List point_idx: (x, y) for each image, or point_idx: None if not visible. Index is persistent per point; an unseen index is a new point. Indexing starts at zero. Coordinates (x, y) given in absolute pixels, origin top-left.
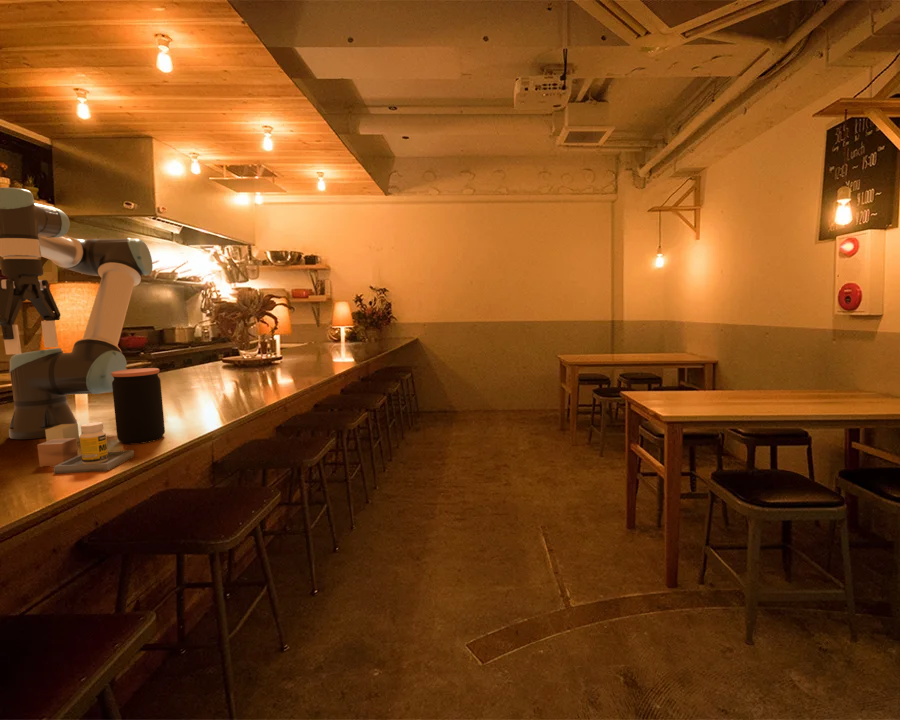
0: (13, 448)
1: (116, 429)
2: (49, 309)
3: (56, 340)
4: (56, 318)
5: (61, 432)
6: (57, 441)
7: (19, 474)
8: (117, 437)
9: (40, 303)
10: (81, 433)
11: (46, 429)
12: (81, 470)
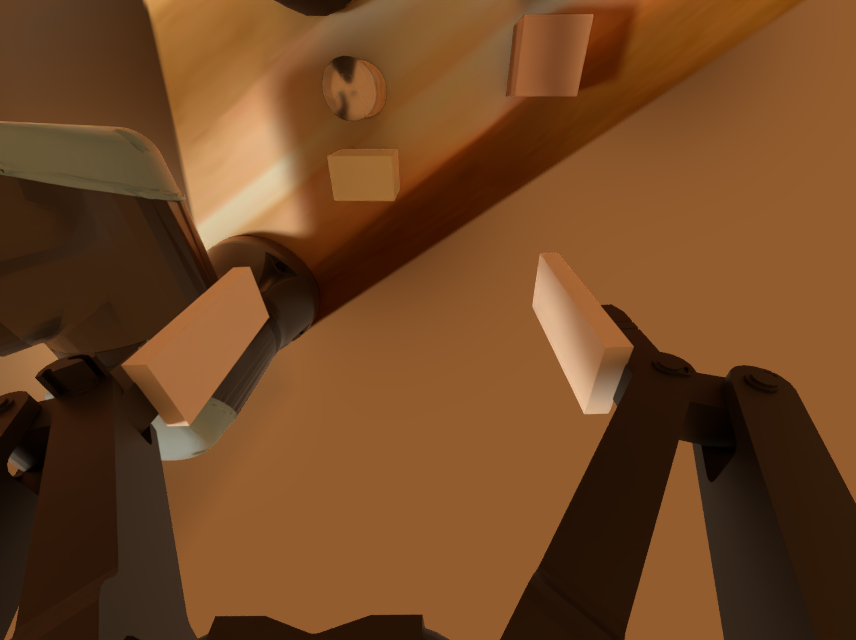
0: (383, 269)
1: (337, 1)
2: (80, 455)
3: (222, 283)
4: (90, 369)
5: (393, 158)
6: (555, 54)
7: (611, 104)
8: (347, 3)
9: (134, 547)
10: (371, 113)
11: (390, 200)
12: None
